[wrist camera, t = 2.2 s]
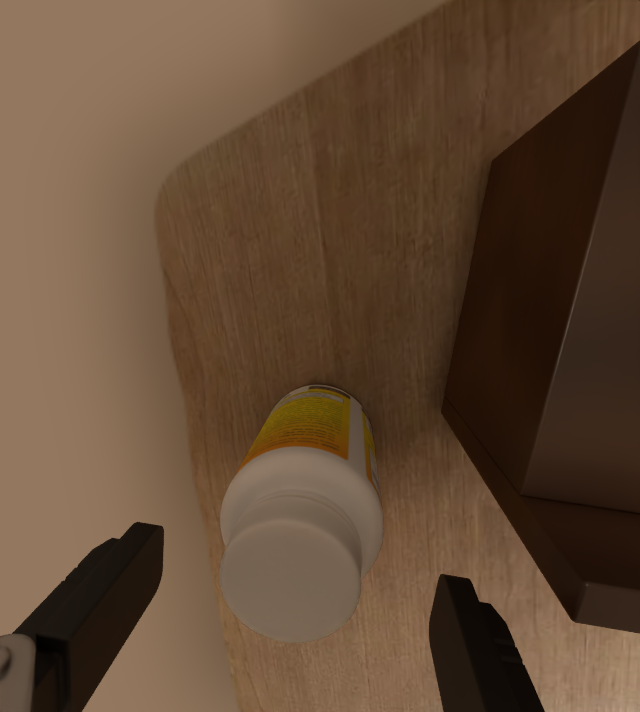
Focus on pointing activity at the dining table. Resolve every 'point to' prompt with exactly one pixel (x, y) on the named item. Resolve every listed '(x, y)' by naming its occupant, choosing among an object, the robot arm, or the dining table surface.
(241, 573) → the supplement bottle
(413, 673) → the dining table surface
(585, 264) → the shelf
